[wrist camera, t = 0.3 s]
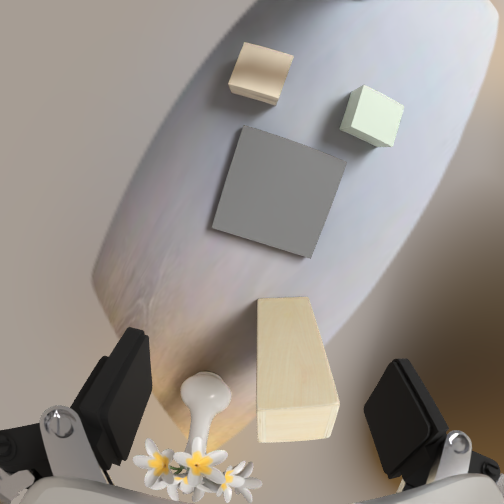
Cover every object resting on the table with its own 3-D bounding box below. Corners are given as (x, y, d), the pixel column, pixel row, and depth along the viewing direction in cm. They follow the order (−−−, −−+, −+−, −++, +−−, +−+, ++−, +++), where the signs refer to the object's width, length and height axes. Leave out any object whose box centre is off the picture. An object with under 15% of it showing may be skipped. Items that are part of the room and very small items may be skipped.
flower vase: (245, 411, 51) (242, 517, 27) (160, 385, 49) (125, 490, 25) (271, 373, 47) (278, 498, 23) (172, 341, 45) (126, 465, 21)
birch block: (245, 55, 30) (244, 42, 25) (289, 68, 31) (293, 56, 26) (231, 93, 32) (228, 83, 27) (275, 106, 33) (278, 98, 28)
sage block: (350, 92, 31) (363, 84, 27) (387, 110, 32) (404, 106, 27) (338, 129, 33) (350, 126, 29) (376, 147, 34) (392, 146, 29)
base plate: (244, 126, 33) (243, 125, 32) (343, 161, 35) (347, 162, 33) (213, 225, 38) (211, 227, 36) (308, 254, 39) (310, 258, 38)
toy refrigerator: (257, 336, 44) (257, 446, 24) (255, 298, 42) (256, 409, 22) (305, 334, 44) (330, 440, 24) (308, 296, 41) (343, 402, 22)
